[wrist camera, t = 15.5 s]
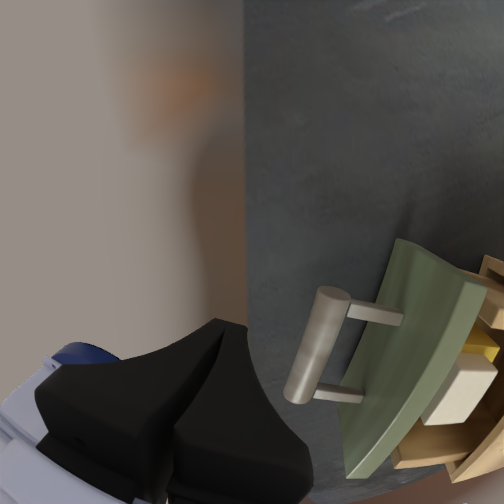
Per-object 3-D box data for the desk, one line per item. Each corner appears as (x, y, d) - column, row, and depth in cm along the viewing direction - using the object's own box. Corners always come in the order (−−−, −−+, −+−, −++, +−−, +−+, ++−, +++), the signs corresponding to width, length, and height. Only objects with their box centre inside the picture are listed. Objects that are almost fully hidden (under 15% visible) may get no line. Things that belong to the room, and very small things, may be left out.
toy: (387, 369, 14) (412, 432, 9) (416, 308, 13) (459, 361, 8) (442, 374, 13) (474, 426, 8) (471, 319, 12) (516, 363, 7)
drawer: (275, 382, 16) (264, 471, 9) (323, 217, 13) (353, 251, 7) (469, 399, 15) (501, 454, 8) (528, 281, 12) (586, 318, 6)
